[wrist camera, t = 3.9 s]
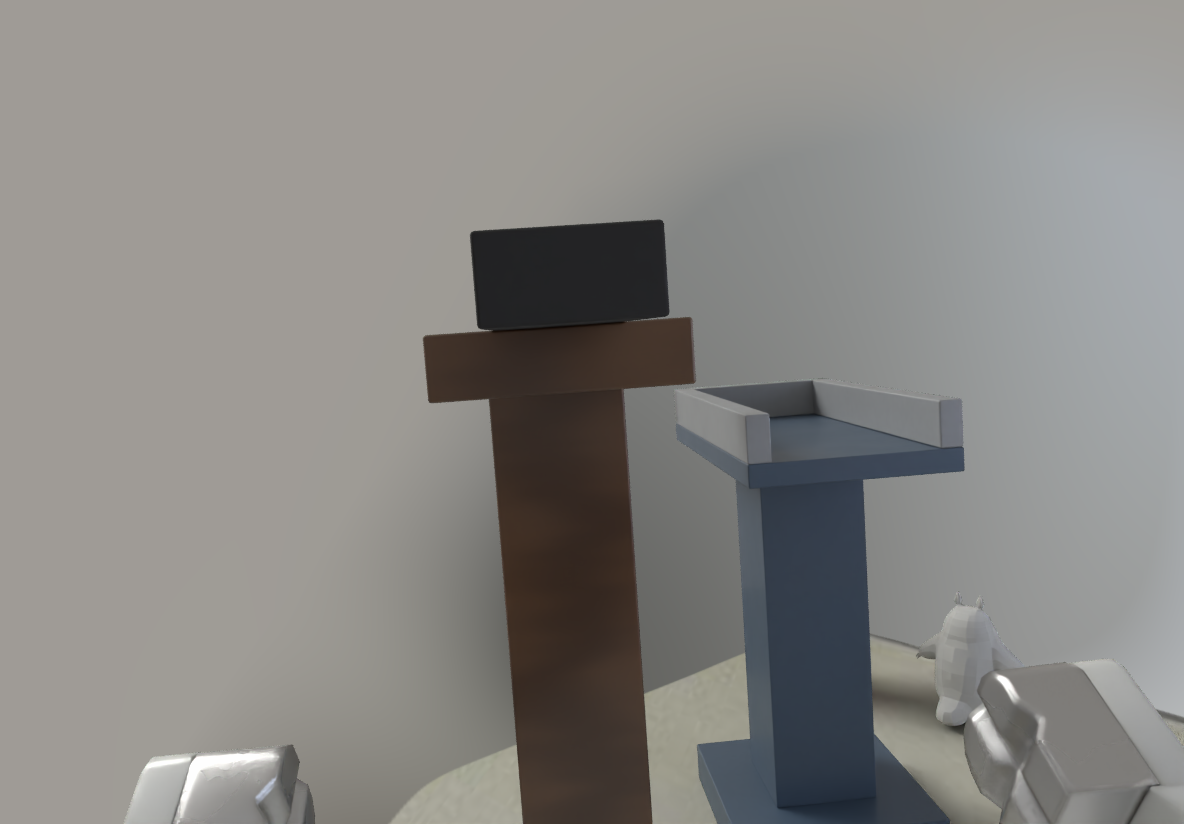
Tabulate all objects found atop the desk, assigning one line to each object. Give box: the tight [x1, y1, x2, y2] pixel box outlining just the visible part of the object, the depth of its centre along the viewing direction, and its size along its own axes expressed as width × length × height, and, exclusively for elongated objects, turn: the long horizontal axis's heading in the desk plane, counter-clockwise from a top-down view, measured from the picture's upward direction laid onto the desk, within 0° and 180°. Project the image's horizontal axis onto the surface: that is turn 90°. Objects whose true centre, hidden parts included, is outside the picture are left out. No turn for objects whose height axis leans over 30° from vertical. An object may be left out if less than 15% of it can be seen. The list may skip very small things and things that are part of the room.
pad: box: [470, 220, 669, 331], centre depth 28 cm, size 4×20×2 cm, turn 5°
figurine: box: [916, 591, 1025, 726], centre depth 56 cm, size 8×6×8 cm
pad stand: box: [423, 317, 696, 824], centre depth 34 cm, size 10×12×26 cm
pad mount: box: [674, 378, 964, 824], centre depth 46 cm, size 10×17×22 cm, turn 5°
